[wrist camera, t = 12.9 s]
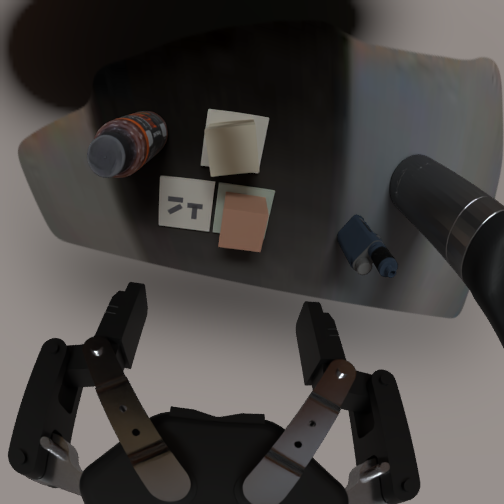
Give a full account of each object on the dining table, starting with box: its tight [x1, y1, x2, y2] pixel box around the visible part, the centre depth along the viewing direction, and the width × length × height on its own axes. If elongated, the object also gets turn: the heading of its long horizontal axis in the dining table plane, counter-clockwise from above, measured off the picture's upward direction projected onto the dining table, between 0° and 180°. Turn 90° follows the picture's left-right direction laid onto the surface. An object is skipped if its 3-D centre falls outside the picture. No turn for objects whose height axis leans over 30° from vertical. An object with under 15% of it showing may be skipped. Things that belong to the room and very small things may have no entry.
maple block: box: [204, 119, 259, 177], centre depth 29 cm, size 5×5×5 cm
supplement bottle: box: [87, 111, 168, 178], centre depth 25 cm, size 6×6×11 cm
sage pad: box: [213, 182, 275, 239], centre depth 36 cm, size 7×7×1 cm
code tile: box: [159, 176, 215, 232], centre depth 35 cm, size 7×7×1 cm
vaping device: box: [337, 214, 398, 278], centre depth 33 cm, size 3×5×12 cm, turn 145°
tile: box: [201, 109, 269, 173], centre depth 31 cm, size 7×7×1 cm
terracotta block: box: [218, 192, 269, 252], centre depth 34 cm, size 5×5×5 cm
